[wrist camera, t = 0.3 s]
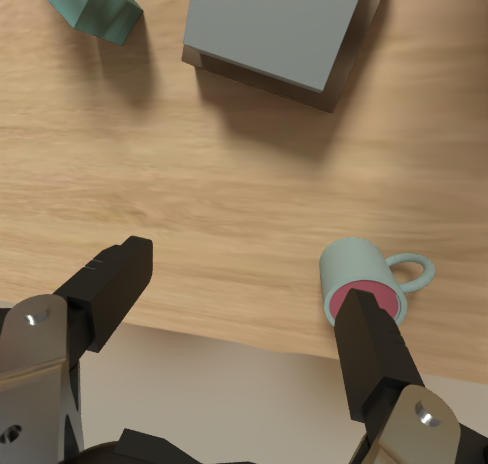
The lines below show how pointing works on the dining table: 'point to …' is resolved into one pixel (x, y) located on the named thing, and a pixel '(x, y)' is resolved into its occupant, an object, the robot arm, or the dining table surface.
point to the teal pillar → (100, 17)
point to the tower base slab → (322, 101)
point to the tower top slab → (272, 36)
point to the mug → (367, 276)
